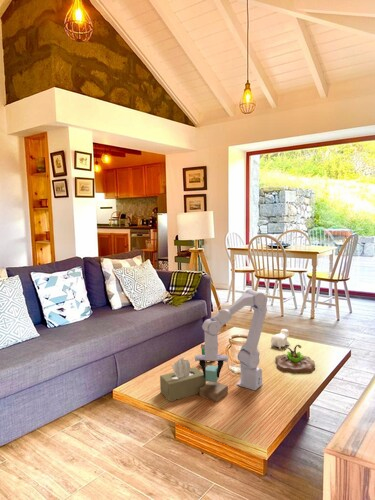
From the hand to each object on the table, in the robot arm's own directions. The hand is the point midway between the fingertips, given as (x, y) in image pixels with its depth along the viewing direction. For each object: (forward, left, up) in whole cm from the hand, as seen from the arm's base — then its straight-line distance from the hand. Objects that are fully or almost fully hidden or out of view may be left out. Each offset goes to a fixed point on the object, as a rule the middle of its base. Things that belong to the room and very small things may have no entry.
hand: (211, 376), depth 159 cm
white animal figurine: (-1, -73, -8) cm, 74 cm away
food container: (+21, -31, -8) cm, 38 cm away
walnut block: (-1, 0, -8) cm, 8 cm away
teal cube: (0, -1, -2) cm, 2 cm away
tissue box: (+11, +6, -8) cm, 15 cm away
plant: (-18, -50, -8) cm, 54 cm away
